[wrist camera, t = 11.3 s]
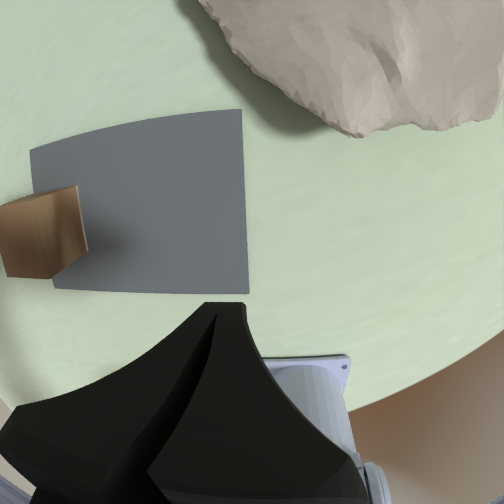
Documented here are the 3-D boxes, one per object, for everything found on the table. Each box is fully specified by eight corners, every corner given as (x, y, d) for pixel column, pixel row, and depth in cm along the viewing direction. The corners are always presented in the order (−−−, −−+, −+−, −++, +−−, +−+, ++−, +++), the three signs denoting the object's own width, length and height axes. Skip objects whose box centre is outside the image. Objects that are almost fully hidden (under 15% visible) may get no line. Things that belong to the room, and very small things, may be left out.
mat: (249, 291, 20) (249, 294, 20) (56, 286, 21) (55, 288, 21) (241, 109, 16) (240, 108, 15) (31, 149, 17) (29, 150, 16)
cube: (7, 276, 15) (45, 252, 19) (49, 279, 15) (88, 251, 19) (-9, 209, 13) (34, 193, 18) (32, 200, 13) (77, 185, 17)
